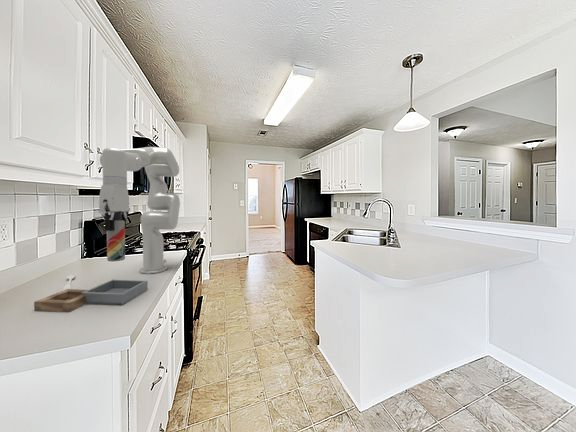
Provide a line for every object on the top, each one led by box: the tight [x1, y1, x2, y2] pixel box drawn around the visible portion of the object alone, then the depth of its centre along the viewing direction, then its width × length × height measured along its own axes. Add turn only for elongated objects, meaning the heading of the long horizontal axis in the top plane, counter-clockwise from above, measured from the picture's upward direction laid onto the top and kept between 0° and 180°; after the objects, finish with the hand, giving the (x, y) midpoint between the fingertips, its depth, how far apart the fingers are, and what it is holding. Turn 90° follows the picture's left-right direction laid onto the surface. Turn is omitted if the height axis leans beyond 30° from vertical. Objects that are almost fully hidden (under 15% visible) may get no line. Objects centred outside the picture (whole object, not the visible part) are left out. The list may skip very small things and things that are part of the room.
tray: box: [81, 279, 148, 306], centre depth 96 cm, size 15×15×4 cm
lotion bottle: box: [106, 210, 126, 262], centre depth 94 cm, size 6×6×20 cm
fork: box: [62, 274, 76, 291], centre depth 110 cm, size 3×21×3 cm, turn 36°
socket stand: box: [33, 288, 98, 313], centre depth 88 cm, size 12×12×3 cm
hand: (115, 229), depth 94 cm, fingers closed on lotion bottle, 5 cm apart
